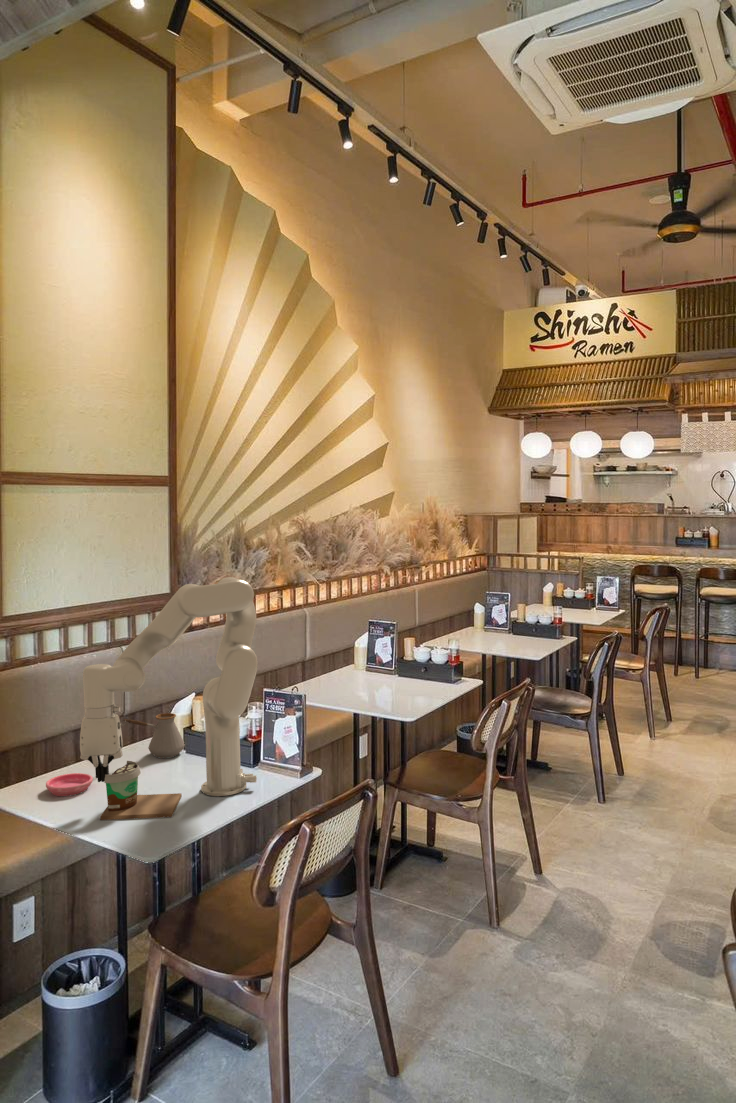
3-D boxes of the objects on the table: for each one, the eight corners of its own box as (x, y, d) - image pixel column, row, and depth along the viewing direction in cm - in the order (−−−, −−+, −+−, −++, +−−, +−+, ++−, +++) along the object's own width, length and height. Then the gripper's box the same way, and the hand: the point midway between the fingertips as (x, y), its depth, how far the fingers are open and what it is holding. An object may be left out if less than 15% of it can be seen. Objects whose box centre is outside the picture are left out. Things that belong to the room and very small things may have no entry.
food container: (127, 814, 194) (126, 776, 193) (105, 813, 195) (104, 775, 195) (149, 797, 206) (148, 760, 206) (128, 795, 207) (127, 759, 207)
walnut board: (181, 796, 208) (181, 793, 208) (171, 817, 195) (171, 813, 194) (115, 799, 207) (114, 795, 207) (100, 820, 193) (100, 816, 193)
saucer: (78, 780, 224) (78, 769, 224) (101, 789, 216) (101, 778, 216) (37, 792, 214) (37, 781, 214) (60, 802, 207) (60, 790, 206)
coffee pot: (171, 746, 254) (170, 702, 253) (192, 753, 246) (190, 708, 246) (113, 763, 238) (112, 716, 238) (133, 771, 231) (132, 722, 230)
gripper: (132, 707, 203) (134, 774, 204) (75, 709, 202) (78, 776, 203) (125, 714, 196) (127, 784, 197) (66, 716, 195) (68, 786, 196)
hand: (102, 780), depth 200 cm, fingers closed
